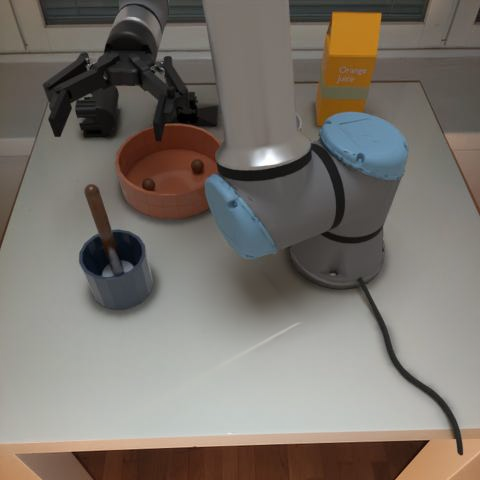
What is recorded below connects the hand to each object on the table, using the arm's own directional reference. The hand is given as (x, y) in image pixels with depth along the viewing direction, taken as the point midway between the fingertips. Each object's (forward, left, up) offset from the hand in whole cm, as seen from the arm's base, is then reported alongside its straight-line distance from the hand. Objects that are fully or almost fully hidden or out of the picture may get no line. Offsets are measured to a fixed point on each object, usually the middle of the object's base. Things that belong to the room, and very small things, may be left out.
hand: (105, 130), depth 62 cm
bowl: (+9, -12, -21) cm, 26 cm away
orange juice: (+10, -51, -21) cm, 57 cm away
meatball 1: (+9, -7, -19) cm, 23 cm away
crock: (-8, +6, -21) cm, 23 cm away
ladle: (-8, +6, -21) cm, 23 cm away
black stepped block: (+26, -24, -21) cm, 42 cm away
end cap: (+33, -8, -21) cm, 40 cm away
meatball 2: (+9, -17, -19) cm, 27 cm away
